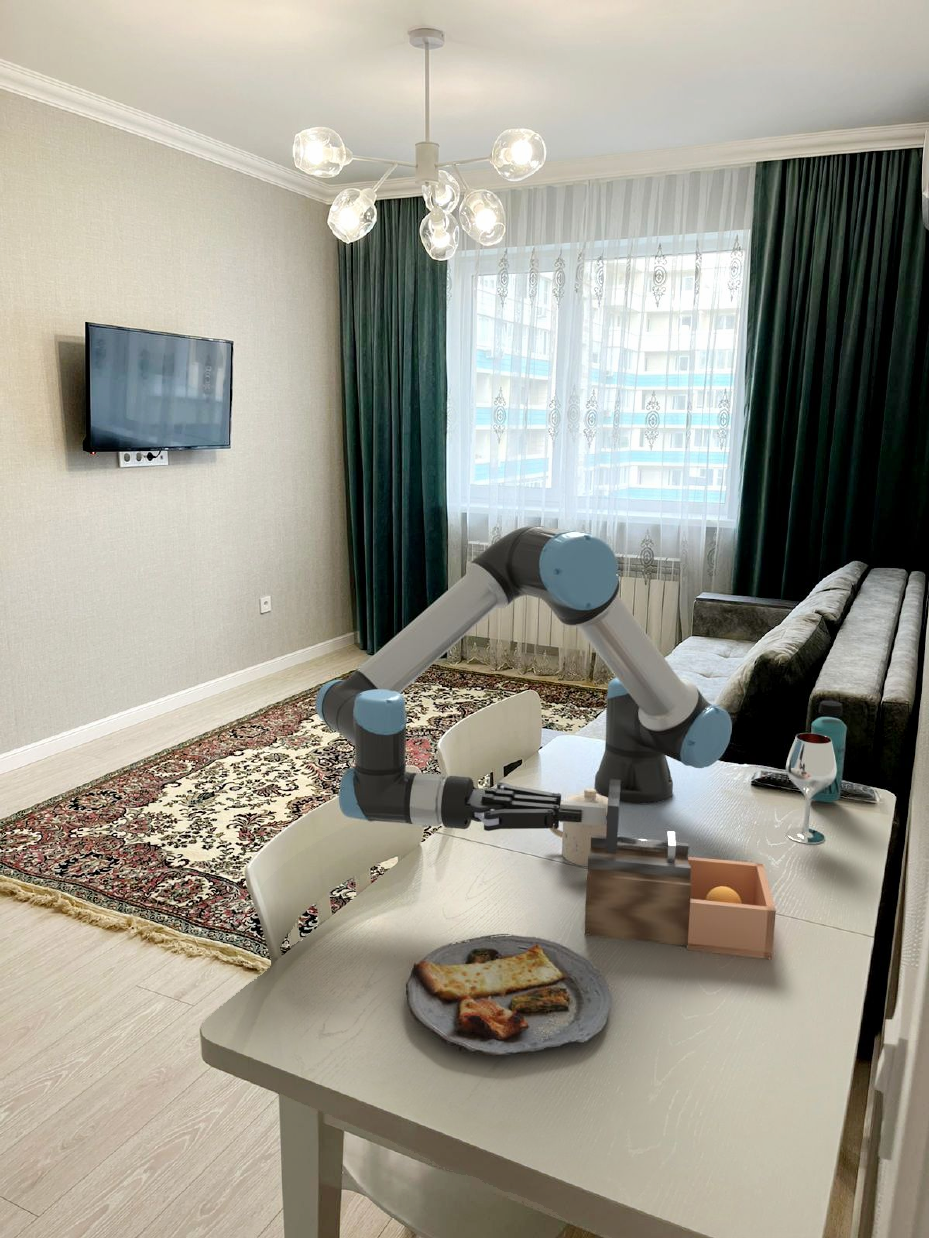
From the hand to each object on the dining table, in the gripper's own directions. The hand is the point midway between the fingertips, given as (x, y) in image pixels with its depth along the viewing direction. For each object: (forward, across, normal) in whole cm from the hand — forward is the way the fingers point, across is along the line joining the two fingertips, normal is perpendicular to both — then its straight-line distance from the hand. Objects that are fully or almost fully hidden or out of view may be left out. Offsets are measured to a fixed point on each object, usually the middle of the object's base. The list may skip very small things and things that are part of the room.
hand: (606, 814), depth 130 cm
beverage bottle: (+39, -51, -16) cm, 66 cm away
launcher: (+5, 0, -15) cm, 16 cm away
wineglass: (+34, -34, -16) cm, 51 cm away
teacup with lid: (-5, -19, -16) cm, 25 cm away
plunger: (+5, 0, -6) cm, 8 cm away
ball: (+17, 0, -12) cm, 21 cm away
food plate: (-10, +23, -16) cm, 30 cm away
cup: (+17, 0, -16) cm, 23 cm away
